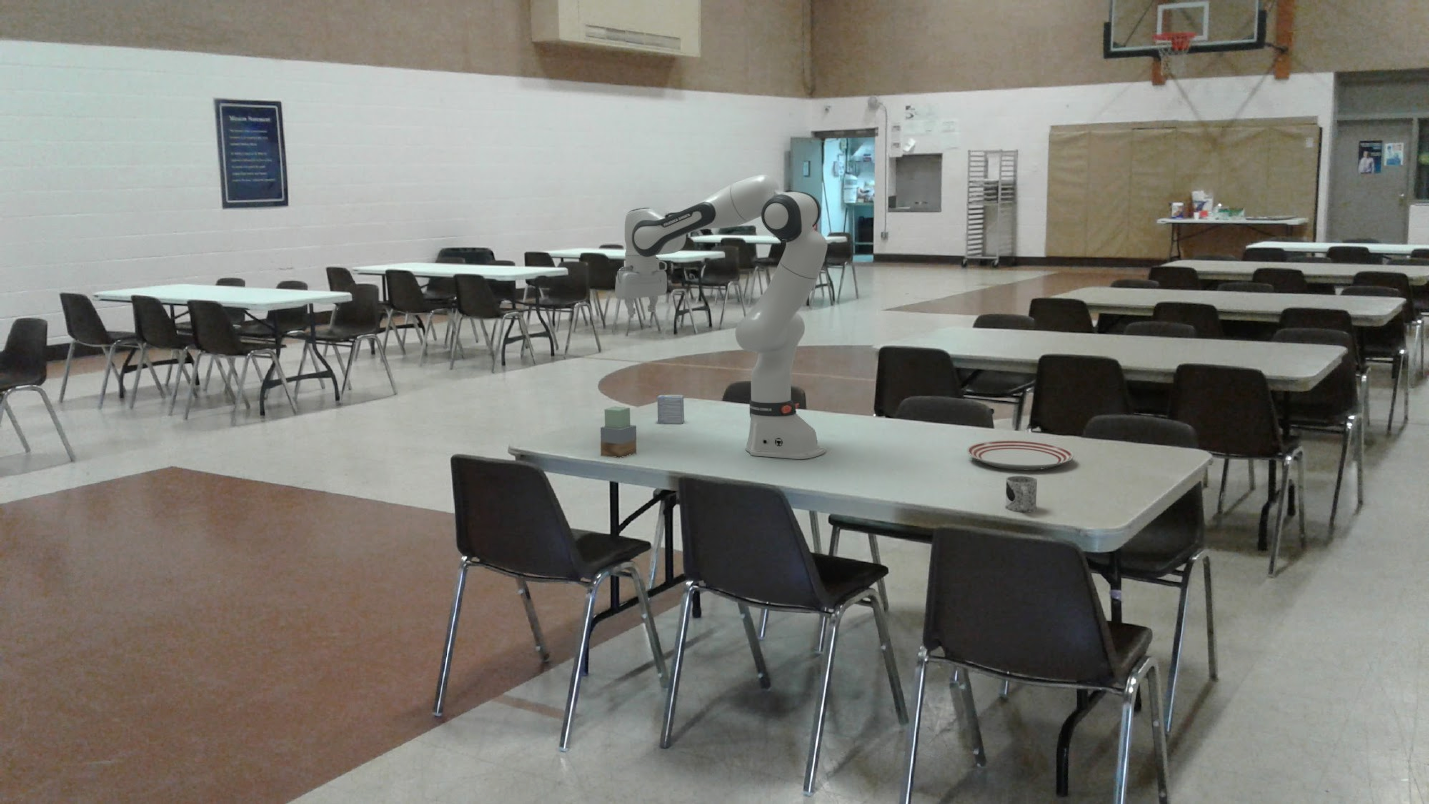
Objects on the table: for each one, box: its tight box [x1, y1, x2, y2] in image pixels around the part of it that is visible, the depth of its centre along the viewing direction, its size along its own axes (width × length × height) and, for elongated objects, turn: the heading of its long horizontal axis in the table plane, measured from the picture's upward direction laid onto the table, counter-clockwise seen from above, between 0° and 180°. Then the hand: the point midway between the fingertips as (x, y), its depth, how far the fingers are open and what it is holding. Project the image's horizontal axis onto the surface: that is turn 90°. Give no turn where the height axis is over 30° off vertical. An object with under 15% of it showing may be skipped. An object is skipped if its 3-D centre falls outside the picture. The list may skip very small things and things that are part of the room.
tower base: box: [600, 439, 637, 458], centre depth 322 cm, size 7×7×4 cm
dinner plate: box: [966, 439, 1075, 471], centre depth 306 cm, size 27×27×3 cm
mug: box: [1005, 475, 1038, 513], centre depth 259 cm, size 10×7×7 cm, turn 175°
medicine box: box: [656, 394, 685, 425], centre depth 366 cm, size 8×4×9 cm, turn 84°
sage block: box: [604, 405, 631, 429], centre depth 321 cm, size 5×5×5 cm
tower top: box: [600, 424, 637, 444], centre depth 321 cm, size 7×7×4 cm
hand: (641, 313), depth 336 cm, fingers open, 8 cm apart
